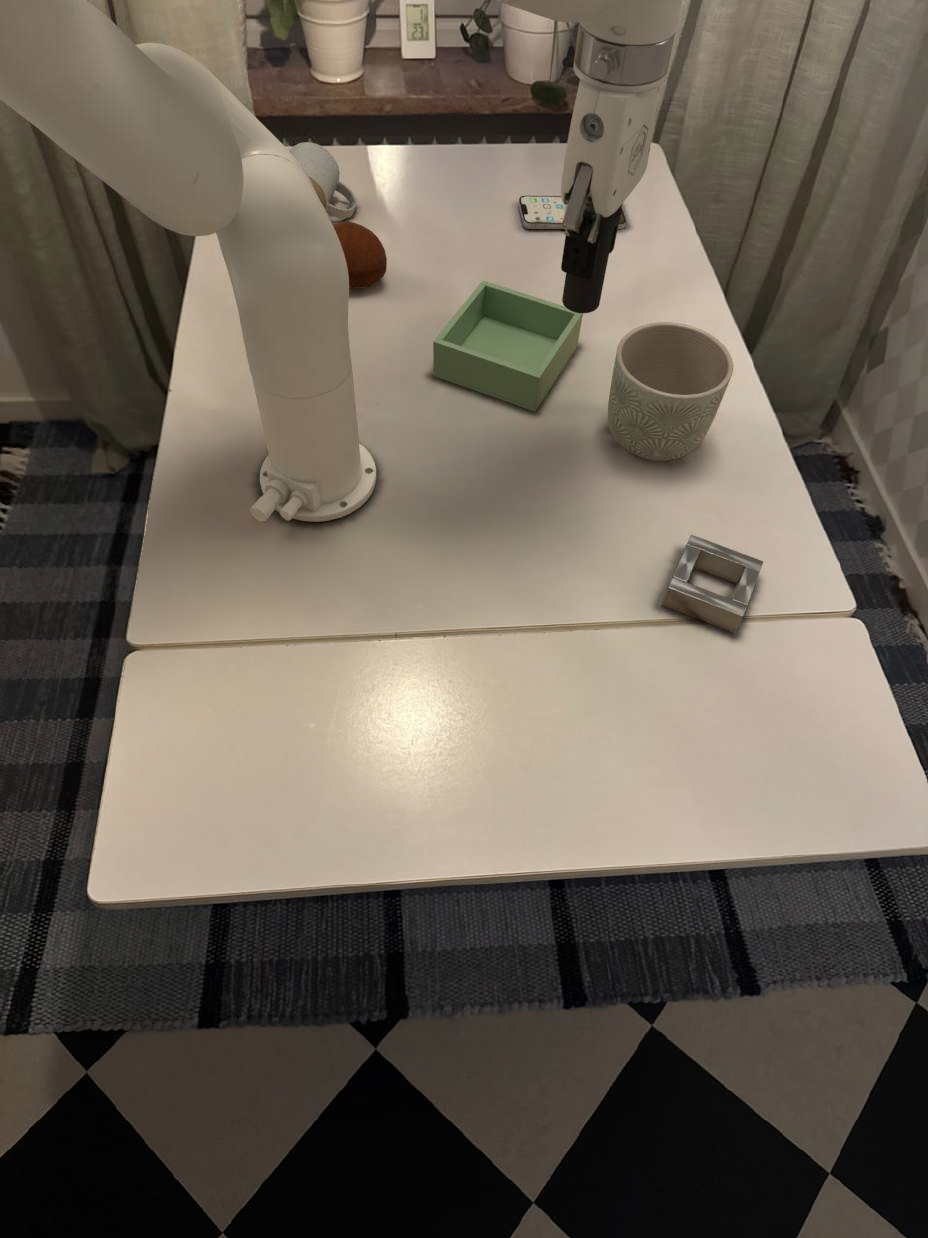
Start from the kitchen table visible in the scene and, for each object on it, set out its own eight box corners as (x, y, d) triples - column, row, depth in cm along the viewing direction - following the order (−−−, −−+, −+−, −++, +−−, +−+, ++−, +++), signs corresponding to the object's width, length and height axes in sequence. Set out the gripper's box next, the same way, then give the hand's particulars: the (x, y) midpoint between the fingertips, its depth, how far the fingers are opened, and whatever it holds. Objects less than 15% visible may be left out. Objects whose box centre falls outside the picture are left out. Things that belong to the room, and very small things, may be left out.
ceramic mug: (278, 221, 122) (270, 168, 115) (290, 190, 126) (284, 137, 120) (351, 229, 121) (348, 176, 115) (361, 198, 126) (359, 145, 120)
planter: (582, 411, 101) (597, 334, 92) (674, 388, 104) (697, 311, 95) (629, 483, 95) (650, 408, 86) (726, 457, 98) (756, 382, 89)
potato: (307, 260, 117) (299, 204, 110) (391, 264, 117) (388, 209, 110) (299, 294, 112) (290, 238, 106) (386, 299, 112) (383, 242, 106)
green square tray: (535, 411, 101) (539, 377, 97) (433, 375, 104) (433, 341, 100) (577, 346, 108) (583, 312, 104) (480, 314, 111) (482, 279, 107)
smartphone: (627, 224, 123) (524, 223, 121) (625, 231, 124) (523, 230, 122) (617, 196, 127) (518, 194, 125) (616, 203, 128) (517, 202, 126)
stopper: (592, 321, 85) (610, 226, 77) (550, 306, 86) (563, 211, 78) (610, 296, 87) (629, 202, 79) (569, 283, 88) (583, 188, 80)
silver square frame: (734, 633, 84) (743, 616, 82) (661, 605, 86) (667, 587, 83) (754, 579, 88) (763, 561, 85) (684, 552, 90) (691, 534, 87)
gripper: (628, 107, 63) (589, 320, 78) (701, 24, 71) (653, 230, 86) (535, 81, 64) (514, 294, 79) (618, 3, 73) (585, 209, 88)
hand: (587, 259), depth 83 cm, fingers closed on stopper, 4 cm apart
